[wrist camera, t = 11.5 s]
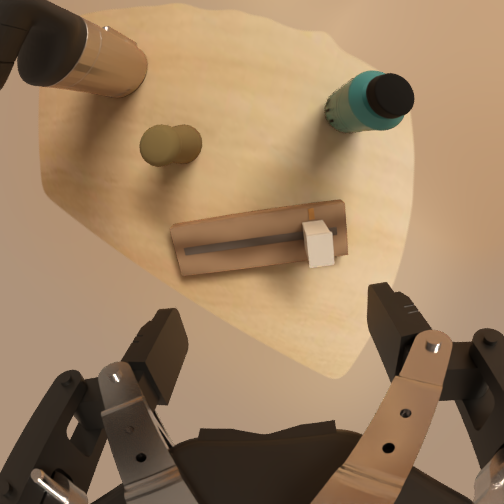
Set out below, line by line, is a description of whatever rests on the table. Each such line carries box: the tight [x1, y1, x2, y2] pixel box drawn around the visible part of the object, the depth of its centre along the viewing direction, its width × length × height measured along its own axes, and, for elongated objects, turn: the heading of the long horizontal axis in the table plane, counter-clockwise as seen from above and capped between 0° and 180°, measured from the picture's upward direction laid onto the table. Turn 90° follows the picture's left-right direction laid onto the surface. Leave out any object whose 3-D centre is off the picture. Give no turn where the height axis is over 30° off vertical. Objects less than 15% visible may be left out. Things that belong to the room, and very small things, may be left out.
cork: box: [140, 124, 202, 167], centre depth 36 cm, size 6×6×11 cm
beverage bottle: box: [324, 71, 414, 133], centre depth 28 cm, size 6×7×20 cm
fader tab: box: [302, 220, 334, 268], centre depth 39 cm, size 4×3×7 cm
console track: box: [170, 200, 348, 276], centre depth 44 cm, size 8×26×3 cm, turn 100°
